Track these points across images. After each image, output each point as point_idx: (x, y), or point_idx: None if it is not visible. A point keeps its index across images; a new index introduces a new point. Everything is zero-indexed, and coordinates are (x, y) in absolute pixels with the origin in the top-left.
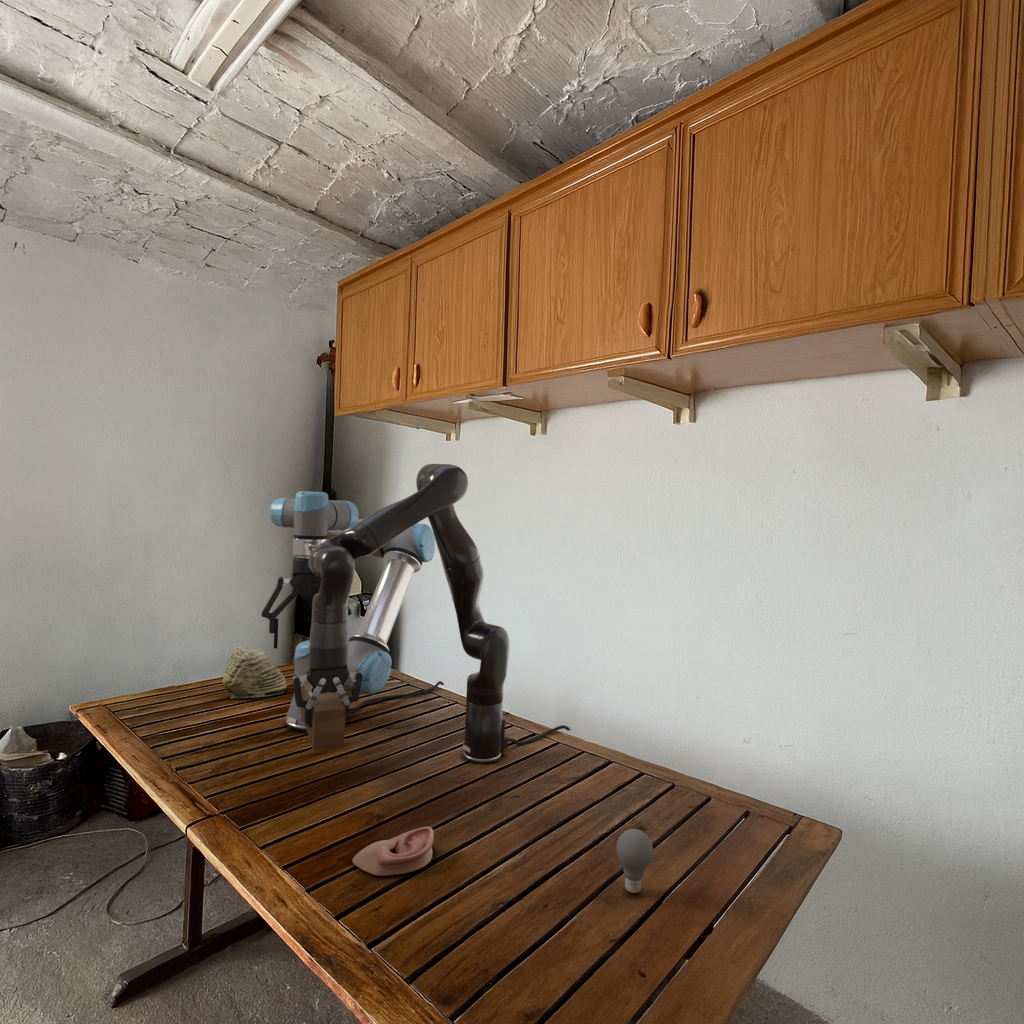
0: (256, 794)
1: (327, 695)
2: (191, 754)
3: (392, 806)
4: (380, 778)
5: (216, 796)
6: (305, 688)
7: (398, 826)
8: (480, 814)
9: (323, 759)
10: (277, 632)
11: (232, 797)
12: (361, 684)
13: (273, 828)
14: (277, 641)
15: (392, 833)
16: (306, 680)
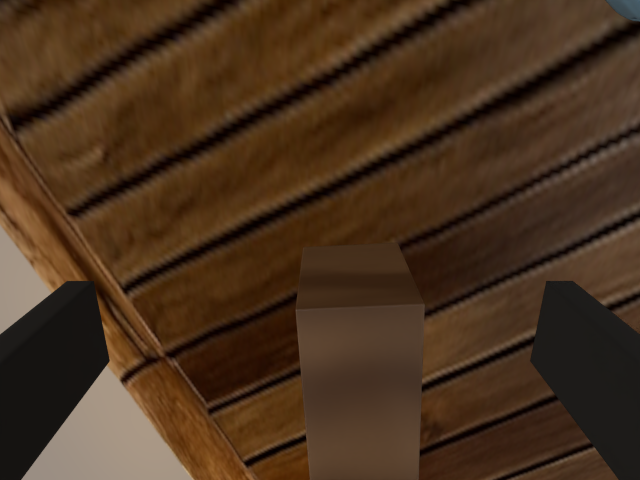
0: (223, 302)
1: None
2: (15, 20)
3: (466, 405)
4: (481, 297)
5: (144, 290)
6: (308, 459)
7: (455, 461)
8: (597, 461)
9: (375, 158)
10: (31, 461)
11: (177, 302)
12: (617, 10)
13: (261, 421)
14: (82, 396)
15: (440, 475)
16: (318, 372)
